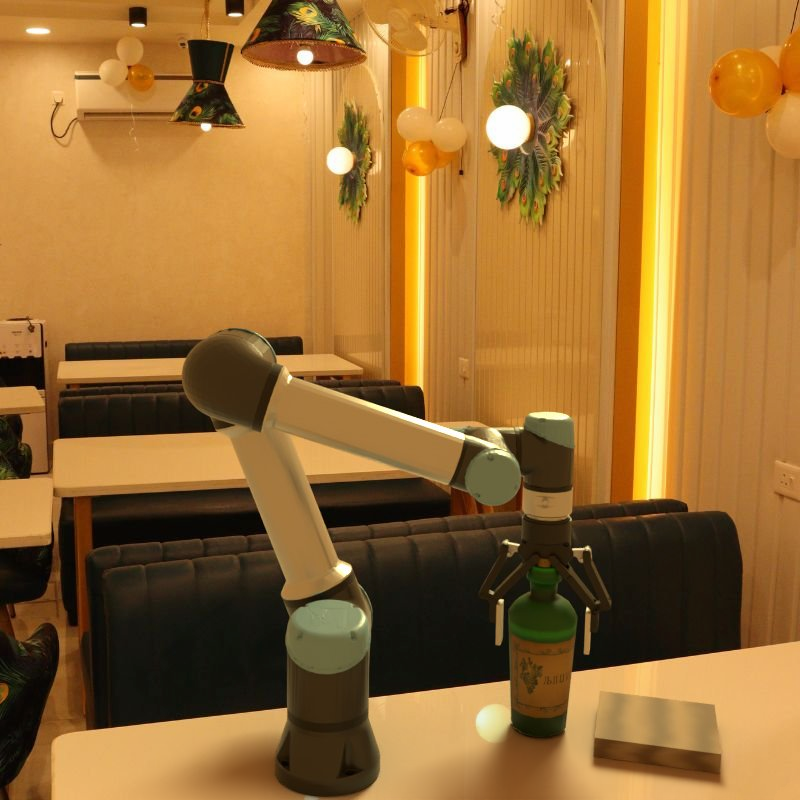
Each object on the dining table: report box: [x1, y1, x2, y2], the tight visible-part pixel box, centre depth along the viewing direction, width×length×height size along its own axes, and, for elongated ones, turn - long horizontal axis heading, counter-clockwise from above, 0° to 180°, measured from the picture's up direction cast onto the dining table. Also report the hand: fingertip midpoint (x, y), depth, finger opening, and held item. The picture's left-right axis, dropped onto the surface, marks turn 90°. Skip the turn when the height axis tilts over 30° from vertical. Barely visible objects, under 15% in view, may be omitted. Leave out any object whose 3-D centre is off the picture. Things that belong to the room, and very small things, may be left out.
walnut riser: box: [593, 690, 722, 774], centre depth 154 cm, size 18×16×3 cm
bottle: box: [507, 558, 578, 738], centre depth 156 cm, size 11×11×28 cm
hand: (542, 646), depth 156 cm, fingers open, 13 cm apart
